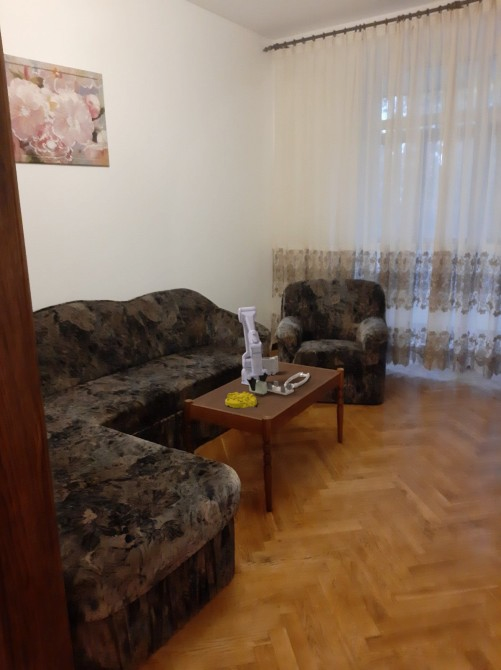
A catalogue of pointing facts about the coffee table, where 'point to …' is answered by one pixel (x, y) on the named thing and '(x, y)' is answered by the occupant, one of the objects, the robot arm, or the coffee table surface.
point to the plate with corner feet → (279, 388)
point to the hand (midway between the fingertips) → (257, 388)
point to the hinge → (270, 365)
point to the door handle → (296, 377)
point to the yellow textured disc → (240, 400)
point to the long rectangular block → (260, 387)
